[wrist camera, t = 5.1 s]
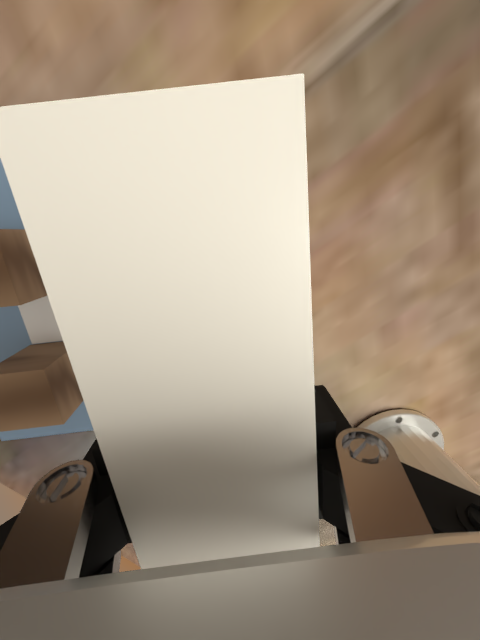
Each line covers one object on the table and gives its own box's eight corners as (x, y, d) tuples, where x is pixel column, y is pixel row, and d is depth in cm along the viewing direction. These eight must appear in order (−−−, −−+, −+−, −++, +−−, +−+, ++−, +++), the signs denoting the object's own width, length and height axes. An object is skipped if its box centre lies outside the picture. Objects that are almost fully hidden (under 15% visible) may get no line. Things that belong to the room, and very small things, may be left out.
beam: (288, 521, 13) (324, 678, 9) (199, 534, 13) (186, 699, 9) (259, 164, 9) (303, 73, 4) (119, 180, 8) (-17, 108, 4)
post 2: (96, 384, 27) (63, 424, 21) (47, 390, 27) (0, 431, 21) (83, 339, 26) (43, 369, 20) (30, 344, 25) (-25, 377, 20)
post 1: (68, 288, 24) (20, 305, 18) (11, 293, 24) (-55, 312, 18) (50, 229, 22) (-8, 228, 17) (-11, 235, 22) (-90, 236, 17)
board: (171, 415, 30) (169, 421, 29) (8, 434, 29) (0, 441, 28) (117, 152, 22) (112, 148, 21) (-110, 171, 21) (-127, 168, 20)
